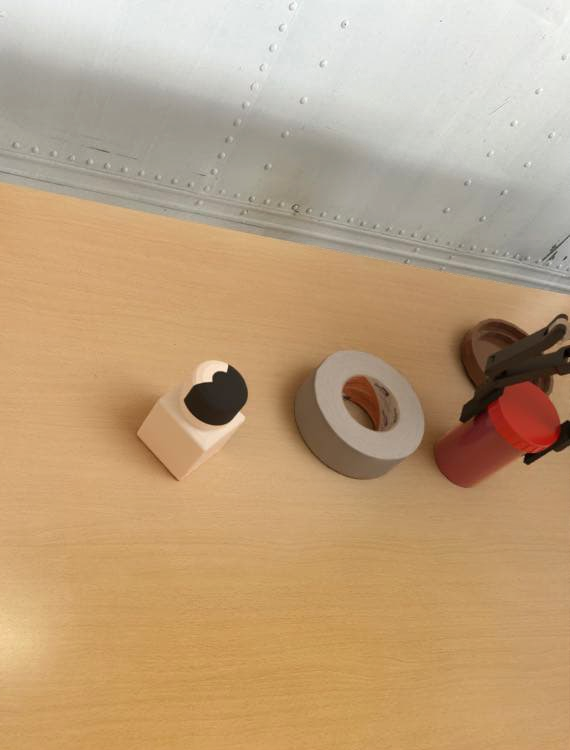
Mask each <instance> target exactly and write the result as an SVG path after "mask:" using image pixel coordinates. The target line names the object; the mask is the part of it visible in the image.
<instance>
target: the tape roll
mask: <svg viewBox="0 0 570 750" xmlns="http://www.w3.org/2000/svg"><path fill="white" fill-rule="evenodd" d="M344 399H346V400H348V401H351V402H354V403H355V404H357V405H359V406H360V407H361V408H362V409H363V410H364V411H365V412H366V414H367V415H368V416H369V418H370V419H371V421H372V423H373V426H374V430H373V429H371V428H368V427H366V426H364V425H362V424H361V423H359V421H357V420H356V419H355V418H354V417H353V415H351V413H350V412H349V410H348V408H347V406H346V404H345V401H344ZM422 406H423V405H422V404H421V401H420V399H419V396H418V395H417V392H416V391H415V390H414V387H413V386H412V385H411V383H410V382H409V380H407V379H406V377H404V376H403V375H402V374H401V373H400V372H399V371H397V370H396V368H395V367H393V366H392V365H391V364H389V363H388V362H386V361H384V360H383V359H382V358H380V357H378V356H375V355H373V354H371V353H368V352H367V351H362V350H356V349H343V350H338V351H334V352H333V353H332V354H330V355H327V356H326V357H325V358H323V360H322V361H321V362H320V363H319V364H318V365H317V366H316V368H315V369H314V370H313V371H312V372H311V373H310V374H309V376H308V377H307V378H306V379H305V380H304V381H303V382H302V383H301V385H300V386H299V388H298V390H297V392H296V395H295V399H294V407H293V408H294V410H293V411H294V418H295V423H296V426H297V429H298V431H299V433H300V435H301V437H302V439H303V440H304V442H305V444H306V445H307V447H308V448H309V449H310V451H311V452H312V453H313V454H314V455H315V457H317V458H318V459H319V460H320V461H321V462H322V463H323V464H325V465H326V466H327V467H329V468H330V469H332V470H334V471H335V472H337V473H339V474H341V475H344V476H346V477H350V478H354V479H359V480H372V479H378V478H380V477H383V476H385V475H387V474H388V473H389V472H391V471H392V470H393V469H394V468H396V467H397V466H398V465H399V464H401V463H402V462H403V461H404V460H406V459H407V458H408V457H409V456H411V455H412V454H413V453H414V452H415V451H416V450H417V449H418V448H419V446H420V445H421V442H422V440H423V437H424V433H425V425H426V424H425V415H424V409H423V407H422Z"/></svg>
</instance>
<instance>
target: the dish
mask: <svg viewBox="0 0 570 750" xmlns="http://www.w3.org/2000/svg"><path fill="white" fill-rule="evenodd" d="M529 335H530V334H529V333H528V332H527V331H525V330H524V329H522V328H521V327H519V326H518V325H516V324H514V323H513V322H509V321H508V320H505V319H502V318H494V317H493V318H492V317H491V318H486V319H483V320H481V321H479V322H478V323H477V324H476V325H474V327H472V328H471V329H470V330H469V331H468V332H467V333H466V335H464V337H463V340H462V345H461V355H462V362H463V364H464V367H465V370H466V372H467V374H468V376H469V378H470V379H471V380H472V382H473V383H474V385H475V386H476V387H477V386H478V385H479V384H481V383H482V382H483V381H484V380H486V379H487V378H488V376H486V375H485V374H484V371H485V367H486V363H487V359H488V357H489V356H490V355H492V354H494V353H496V352H498V351H500V350H502V349H504V348H505V347H507V346H509V345H511V344H513V343H515V342H517V341H519V340H521V339H523V338H525V337H527V336H529ZM545 354H546V353H545V351H544V352H542V353H540V354H538V355H536V356H534V357H537V356H541V355H545ZM531 358H533V357H531ZM529 359H530V358H529ZM528 382H530V383H532V384H534V385H535V386H537V387H538V388H539V389H540V390H542V391H543V392H544V393H545V394H546V395H547V397H548V398H549V397H550V395H551V394H552V393H553V389H554V382H555V380H554V375H551V376H547V377H543V378H539V379H535V380H531V381H528Z"/></svg>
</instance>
